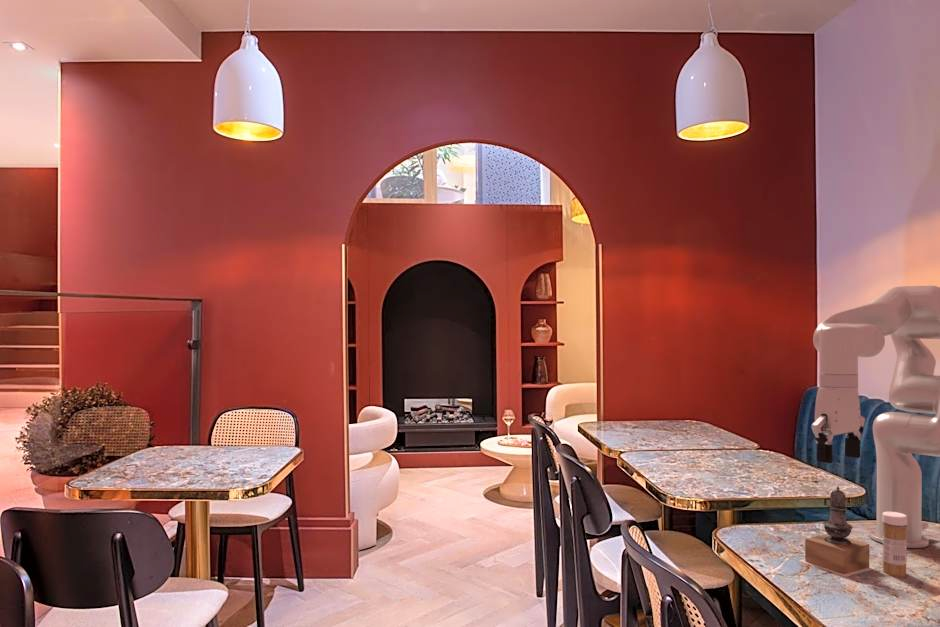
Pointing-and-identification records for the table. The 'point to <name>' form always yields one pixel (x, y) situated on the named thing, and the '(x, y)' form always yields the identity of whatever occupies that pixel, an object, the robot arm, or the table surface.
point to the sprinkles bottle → (894, 543)
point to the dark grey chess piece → (837, 520)
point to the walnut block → (837, 554)
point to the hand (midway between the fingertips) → (839, 459)
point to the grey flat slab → (837, 572)
